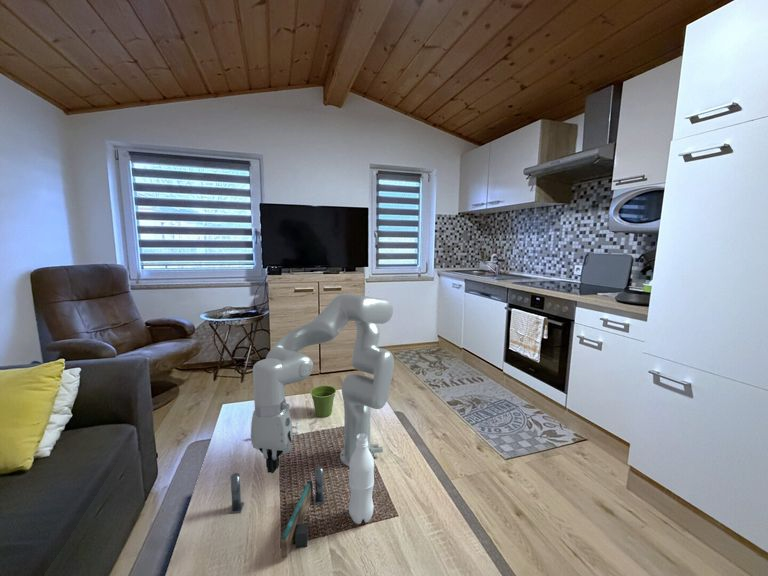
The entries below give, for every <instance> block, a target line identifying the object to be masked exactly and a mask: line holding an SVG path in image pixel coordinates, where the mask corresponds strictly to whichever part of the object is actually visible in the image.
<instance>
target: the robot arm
mask: <svg viewBox="0 0 768 576" xmlns="http://www.w3.org/2000/svg"><path fill="white" fill-rule="evenodd" d="M393 314H394V308H393V305H392V303H391V302H390V300H388V299H384V298H379V297H370V296H364V295H358V294H352V293H351V294H350V293H340V294H338V295H336V296H335V297H334V298H333V299H332V300H331V301H330V302H329V304H327V306H325V308H324V309H323V310H322V311H321V312H320V313H319V314H318V315H317V316H316V317H315V318H314V319H313V320H312V321H310V322H307V323H305V324H303V325H301V326H299V327H297V328H295V329H293V330H290V331H289V332H288V333H286V334H284V335H283V336H282V337H281V338H280V339H279V340H278V341H277V342H276V343H275V344H274V345H273V346H272V348H271V349H270V350H269V351H268V353H267V355H266V357H265V359H264V358H263V359H261V360H259V361H256V362H255V363H254V364H253V367H252V378H253V379H252V381H253V400H254V402H253V403H254V410H253V412H252V416H251V424H250V425H251V427H250V435H251V436H250V439H251V440H250V441H251V444H252V447H253V449H255V450H258V451H259V452H261V453H262V455H263V458H264V459H265V462H266V463H265V466H266V467H265V468H266V472H267V473H268V474H270V473H271V474H274V473H275V472H276V471H277V469H278V468H279V467H280V456H281V455H283V454H289V453H290V452H291V451H292V449H293V448H292V446H291V443H292V442H293V440H294V431H293V424H292V417H291V414H290V411H289V409H290V403H287V402H286V398H285V397H286V396H285V393H286V392H285V386H287V385H291V384H296V383H299V382H302V381H304V380H306V379H308V377H309V376H310V375H311V374H312V372H313V370H314V363H313V360H312V359H311V357H310V356H308V355H306V354H303V353H301V352H299V351H300V350H302V349H304V348H306V347H310V346H314V345H319V344H325V343H329V342H332V341H333V340H335V339H336V337H337V336H338V335H339V334H340V332H341V331H342V330H343V329H344V328H345V326H346V325H347V324H348V323H349V322H354V323H355V326H356V327H355V328H356V334H355V341H354V346H353V351H352V357H351V365H352V368H354V369H355V370H357V371H360V372H363V373H367V374H370V375H373V378H372V377H370V376H367V375H364V374H360V373H351V374H347V376H345V378H344V379H343V381H342V383H341V395H342V399H343V406H344V408H343V409H344V417H343V418H344V425H343V426H344V431H343V432H344V434H343V437H344V438H343V439H344V440H343V441H344V444H343V445H344V447H343V448H342V450H340V453H339V457H340V458H339V460H340V461H341V463H342V464H343V465H344V466H346V467H349V462H350V458H351V456H352V454H353V453H354V451H355V449H356V441H357V435H358V434H366V435H367V441H368V449H369V451H370V453H371V455H372V457H373V459H374V458H375V454H377V453H378V454H380V453H381V454H382V453H384V452H383V451H384V449H383V446H379V444H378V443H375V444H373V443H371V418H372V417H371V416H372V415H371V409H373V410H374V409H375V410H381V409H382V408H383V407H384V406H386V404H387V402H388V401H389V400H388V399H389V396H390V390H391V385H392V379H393V375H394V367H395V358H394V355H393V353H392V351H389V350H388V349H385V348H382V347H379V341H380V334H381V333H380V332H381V331H380V329H379V325H380V324H381V325H382V324H386V323H389V321H390V320H392V319H391V318H392V317H393ZM378 324H379V325H378Z"/></svg>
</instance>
